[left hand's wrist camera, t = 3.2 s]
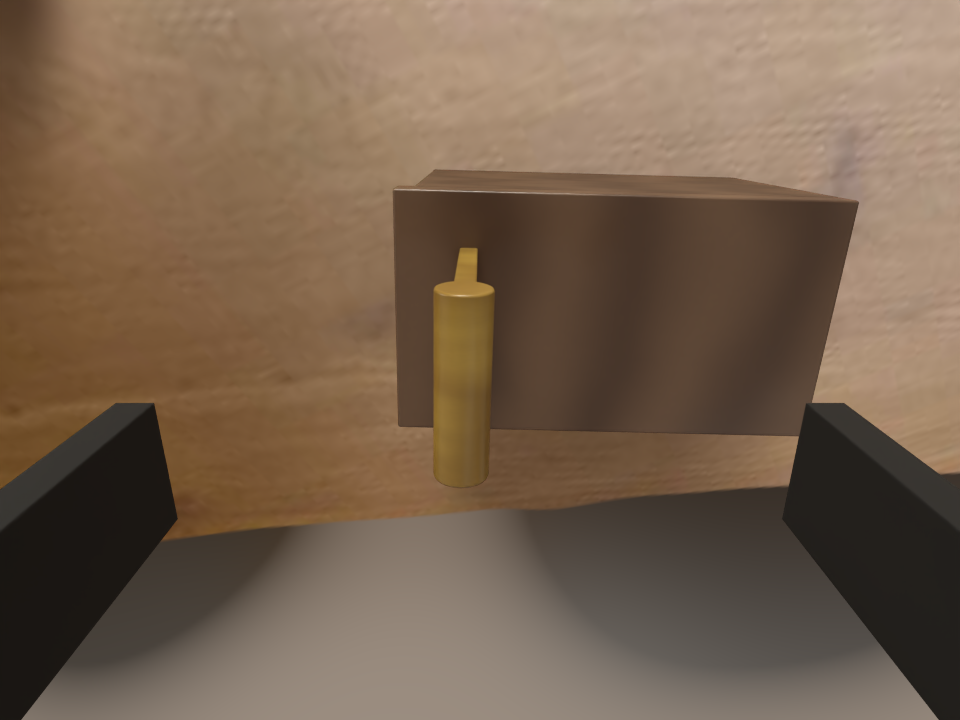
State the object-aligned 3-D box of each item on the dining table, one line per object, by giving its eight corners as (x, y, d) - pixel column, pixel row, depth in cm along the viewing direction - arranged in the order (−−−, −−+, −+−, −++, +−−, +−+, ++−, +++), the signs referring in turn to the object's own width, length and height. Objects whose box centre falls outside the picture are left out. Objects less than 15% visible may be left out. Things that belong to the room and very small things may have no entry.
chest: (434, 337, 38) (416, 414, 28) (433, 169, 35) (413, 185, 24) (706, 344, 38) (789, 423, 28) (733, 177, 35) (840, 197, 24)
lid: (401, 414, 28) (365, 542, 19) (397, 185, 24) (350, 215, 16) (790, 423, 28) (929, 555, 19) (841, 197, 24) (1039, 233, 16)
